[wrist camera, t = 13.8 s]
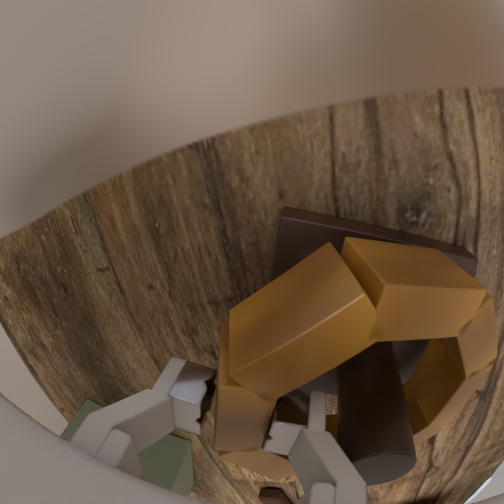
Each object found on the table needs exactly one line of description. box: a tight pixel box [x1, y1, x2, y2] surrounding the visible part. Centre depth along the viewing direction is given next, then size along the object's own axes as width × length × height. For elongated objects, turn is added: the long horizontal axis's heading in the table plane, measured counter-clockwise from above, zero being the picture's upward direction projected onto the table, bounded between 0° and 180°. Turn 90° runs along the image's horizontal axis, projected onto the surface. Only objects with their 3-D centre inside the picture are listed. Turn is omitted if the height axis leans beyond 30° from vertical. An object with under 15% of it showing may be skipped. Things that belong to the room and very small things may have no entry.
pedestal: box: [60, 399, 194, 496], centre depth 17 cm, size 11×11×16 cm
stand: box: [269, 207, 478, 486], centre depth 10 cm, size 9×9×8 cm
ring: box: [213, 237, 497, 481], centre depth 9 cm, size 10×10×3 cm
